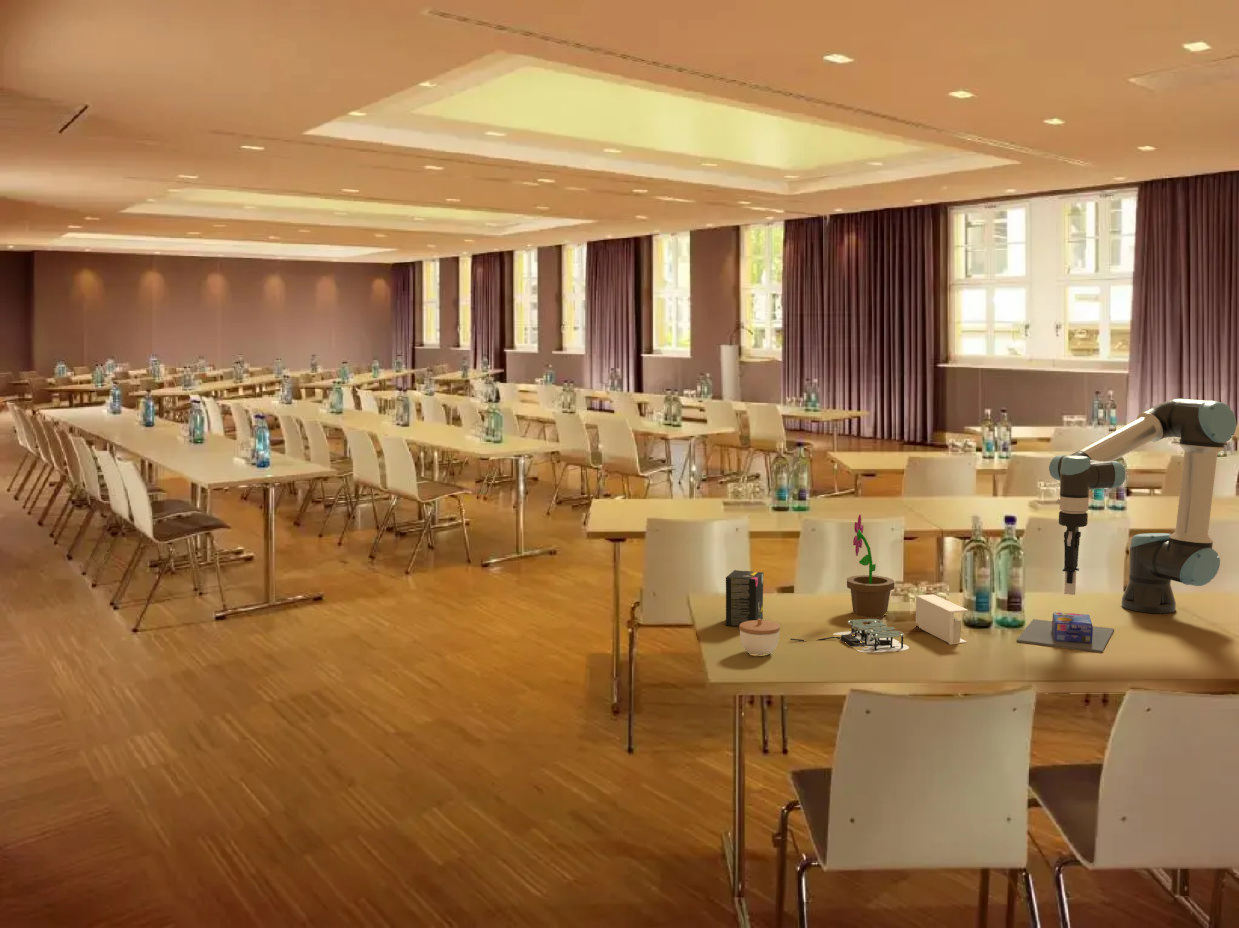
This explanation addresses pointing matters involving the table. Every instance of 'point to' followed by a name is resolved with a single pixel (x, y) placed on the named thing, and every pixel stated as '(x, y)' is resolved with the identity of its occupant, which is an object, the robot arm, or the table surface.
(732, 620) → the tampon box
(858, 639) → the neon sign
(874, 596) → the flowerpot
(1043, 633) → the mat
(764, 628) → the lidded jar
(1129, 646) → the table surface
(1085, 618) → the ink cartridge box
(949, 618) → the cigarette display
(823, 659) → the table surface
